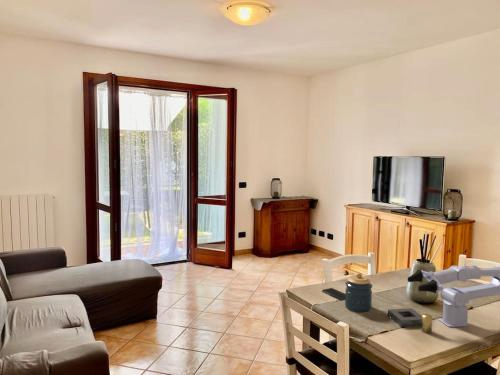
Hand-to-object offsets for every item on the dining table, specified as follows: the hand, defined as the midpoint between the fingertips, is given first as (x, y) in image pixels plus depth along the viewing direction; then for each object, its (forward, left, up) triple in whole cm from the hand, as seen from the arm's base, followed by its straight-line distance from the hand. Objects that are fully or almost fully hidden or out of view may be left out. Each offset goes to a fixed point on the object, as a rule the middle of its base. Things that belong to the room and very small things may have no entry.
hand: (413, 284), depth 166 cm
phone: (+20, -41, -20) cm, 50 cm away
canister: (+15, -23, -20) cm, 34 cm away
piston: (-4, +5, -19) cm, 20 cm away
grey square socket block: (-1, -6, -19) cm, 20 cm away
